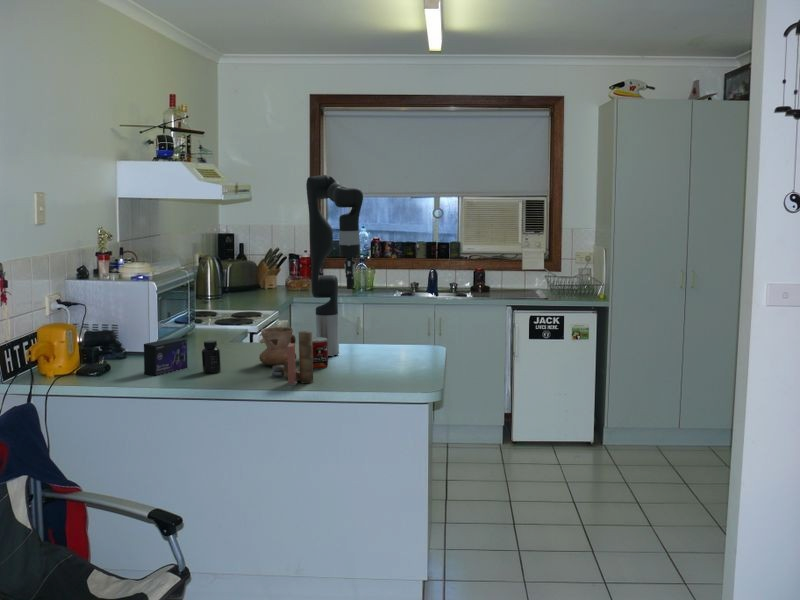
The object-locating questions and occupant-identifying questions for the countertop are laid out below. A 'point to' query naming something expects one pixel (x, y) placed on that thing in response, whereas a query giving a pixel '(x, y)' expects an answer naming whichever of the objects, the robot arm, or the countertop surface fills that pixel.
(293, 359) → the block
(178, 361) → the box
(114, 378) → the countertop surface
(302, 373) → the brown l-shaped piece
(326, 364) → the canned food
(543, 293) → the countertop surface
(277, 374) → the pivot disc
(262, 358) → the ceramic jug
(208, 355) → the supplement bottle
